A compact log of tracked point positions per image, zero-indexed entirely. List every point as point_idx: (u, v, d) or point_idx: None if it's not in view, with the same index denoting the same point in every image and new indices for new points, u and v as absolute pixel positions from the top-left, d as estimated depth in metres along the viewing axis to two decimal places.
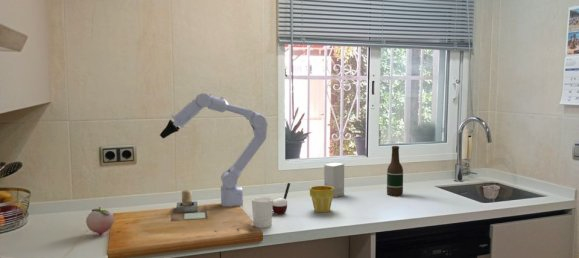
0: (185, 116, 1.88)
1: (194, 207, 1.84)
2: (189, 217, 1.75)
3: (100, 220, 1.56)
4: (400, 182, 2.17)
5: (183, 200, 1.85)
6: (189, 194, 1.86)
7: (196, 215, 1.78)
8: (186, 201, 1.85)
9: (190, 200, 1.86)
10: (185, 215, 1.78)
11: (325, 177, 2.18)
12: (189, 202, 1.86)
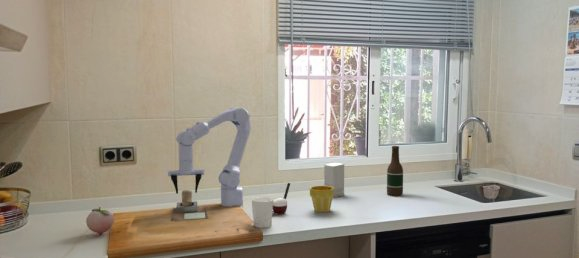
0: (192, 161, 1.87)
1: (194, 207, 1.84)
2: (189, 217, 1.75)
3: (100, 220, 1.56)
4: (400, 182, 2.17)
5: (183, 200, 1.85)
6: (189, 194, 1.86)
7: (196, 215, 1.78)
8: (186, 201, 1.85)
9: (190, 200, 1.86)
10: (185, 215, 1.78)
11: (325, 177, 2.18)
12: (189, 202, 1.86)
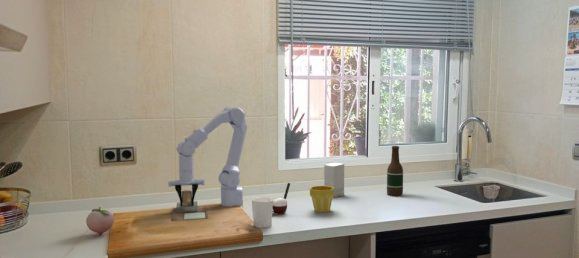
0: None
1: (194, 207, 1.84)
2: (189, 217, 1.75)
3: (100, 220, 1.56)
4: (400, 182, 2.17)
5: (183, 200, 1.85)
6: (189, 194, 1.86)
7: (196, 215, 1.78)
8: (186, 201, 1.85)
9: (190, 200, 1.86)
10: (185, 215, 1.78)
11: (325, 177, 2.18)
12: (189, 202, 1.86)
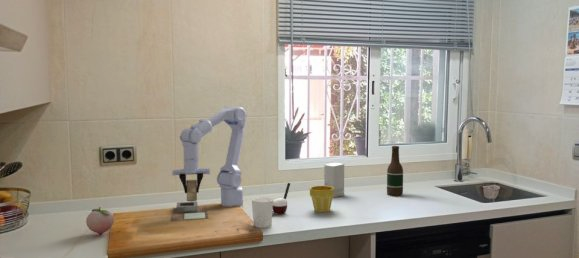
0: None
1: (194, 207, 1.84)
2: (189, 217, 1.75)
3: (100, 220, 1.56)
4: (400, 182, 2.17)
5: (188, 190, 1.78)
6: (194, 183, 1.78)
7: (196, 215, 1.78)
8: (191, 190, 1.78)
9: (195, 190, 1.79)
10: (185, 215, 1.78)
11: (325, 177, 2.18)
12: (194, 191, 1.79)
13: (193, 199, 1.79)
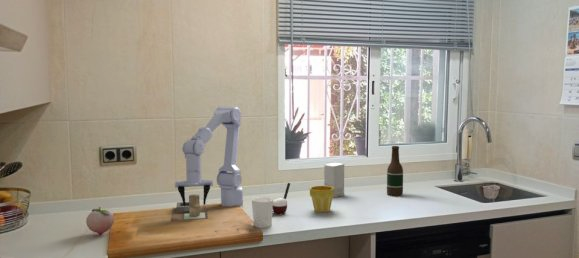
0: None
1: None
2: (189, 217, 1.75)
3: (100, 220, 1.56)
4: (400, 182, 2.17)
5: (191, 205, 1.76)
6: (197, 198, 1.76)
7: None
8: (194, 206, 1.76)
9: (198, 205, 1.77)
10: (185, 215, 1.78)
11: (325, 177, 2.18)
12: (197, 206, 1.76)
13: (196, 214, 1.76)
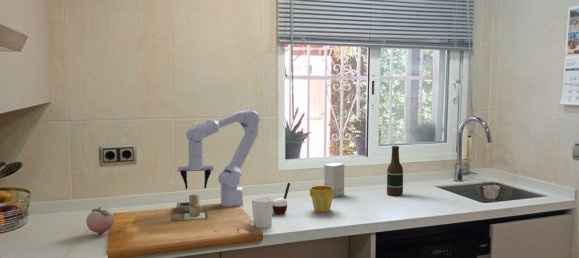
0: None
1: None
2: (189, 217, 1.75)
3: (100, 220, 1.56)
4: (400, 182, 2.17)
5: (191, 205, 1.76)
6: (197, 198, 1.76)
7: None
8: (194, 206, 1.76)
9: (198, 205, 1.77)
10: (185, 215, 1.78)
11: (325, 177, 2.18)
12: (197, 206, 1.76)
13: (196, 214, 1.76)
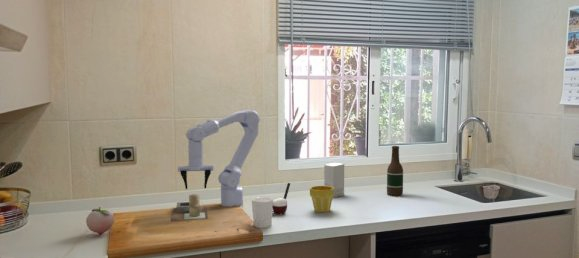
0: (202, 157, 1.88)
1: None
2: (189, 217, 1.75)
3: (100, 220, 1.56)
4: (400, 182, 2.17)
5: (191, 205, 1.76)
6: (197, 199, 1.76)
7: None
8: (194, 206, 1.76)
9: (198, 205, 1.77)
10: (185, 215, 1.78)
11: (325, 177, 2.18)
12: (197, 206, 1.76)
13: (196, 214, 1.76)
